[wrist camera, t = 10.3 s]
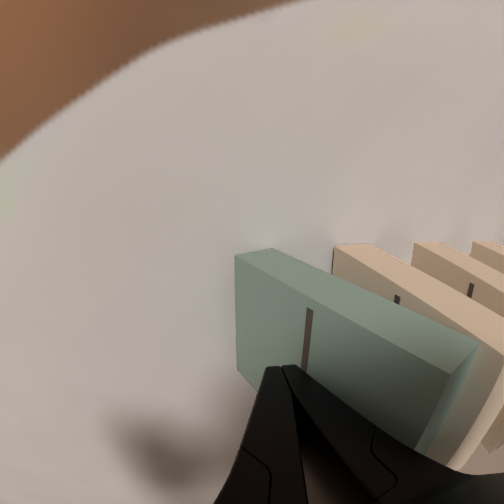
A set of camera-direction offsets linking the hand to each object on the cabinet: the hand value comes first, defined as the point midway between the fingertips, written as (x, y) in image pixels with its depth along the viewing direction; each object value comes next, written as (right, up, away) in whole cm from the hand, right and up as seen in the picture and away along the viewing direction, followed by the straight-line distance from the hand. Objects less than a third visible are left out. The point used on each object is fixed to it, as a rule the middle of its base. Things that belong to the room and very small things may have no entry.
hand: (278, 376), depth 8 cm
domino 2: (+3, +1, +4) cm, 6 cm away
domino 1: (-1, +1, +4) cm, 4 cm away
